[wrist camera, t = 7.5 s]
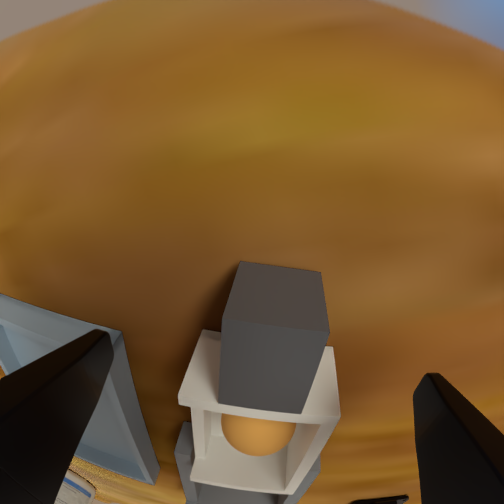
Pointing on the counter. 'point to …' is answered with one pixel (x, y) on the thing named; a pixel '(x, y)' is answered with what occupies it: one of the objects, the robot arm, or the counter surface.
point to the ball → (256, 434)
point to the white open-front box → (264, 379)
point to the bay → (221, 498)
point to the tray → (112, 397)
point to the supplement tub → (75, 490)
